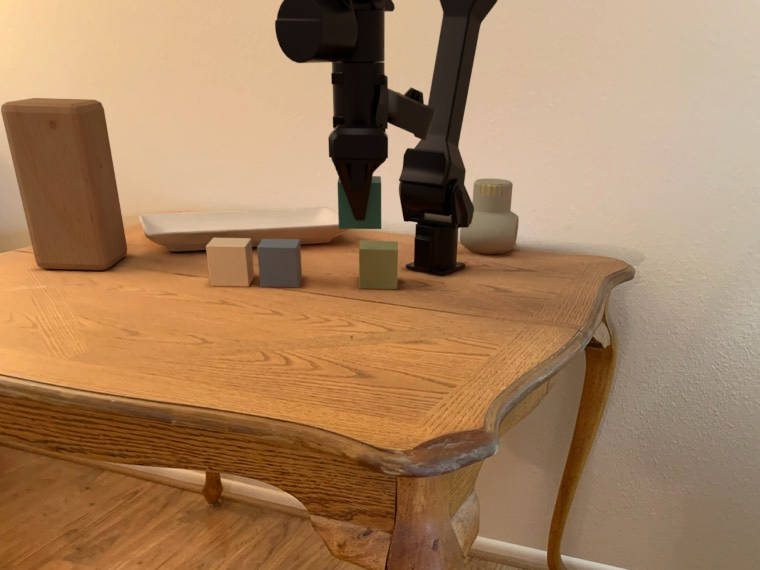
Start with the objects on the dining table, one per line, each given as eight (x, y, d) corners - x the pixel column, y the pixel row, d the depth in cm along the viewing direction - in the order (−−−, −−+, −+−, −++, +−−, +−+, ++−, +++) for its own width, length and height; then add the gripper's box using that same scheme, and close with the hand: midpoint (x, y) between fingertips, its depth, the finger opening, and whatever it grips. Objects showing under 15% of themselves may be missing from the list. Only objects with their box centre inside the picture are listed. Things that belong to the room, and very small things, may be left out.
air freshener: (466, 241, 126) (471, 174, 120) (517, 244, 125) (523, 177, 119) (457, 256, 117) (461, 185, 111) (511, 260, 116) (517, 188, 110)
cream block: (254, 276, 104) (251, 238, 102) (248, 286, 100) (245, 246, 98) (217, 276, 104) (213, 237, 102) (210, 285, 100) (205, 245, 97)
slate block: (302, 277, 105) (300, 239, 102) (298, 287, 100) (296, 247, 98) (265, 277, 105) (262, 238, 102) (260, 286, 100) (256, 246, 98)
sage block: (396, 279, 105) (397, 241, 102) (397, 289, 101) (397, 249, 98) (360, 278, 105) (360, 240, 102) (359, 288, 101) (358, 248, 98)
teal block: (380, 220, 94) (380, 176, 91) (381, 229, 90) (381, 182, 87) (340, 220, 94) (338, 175, 91) (338, 228, 90) (337, 182, 87)
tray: (141, 234, 125) (137, 211, 123) (328, 225, 134) (327, 204, 132) (149, 258, 111) (145, 233, 110) (356, 246, 121) (355, 223, 119)
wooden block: (107, 272, 105) (77, 104, 94) (34, 270, 105) (-5, 102, 94) (130, 255, 113) (105, 99, 102) (63, 253, 113) (30, 97, 102)
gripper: (439, 66, 75) (433, 233, 84) (427, 60, 91) (423, 202, 100) (325, 64, 75) (331, 232, 84) (333, 58, 90) (337, 201, 99)
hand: (360, 215), depth 91 cm, fingers closed on teal block, 5 cm apart
